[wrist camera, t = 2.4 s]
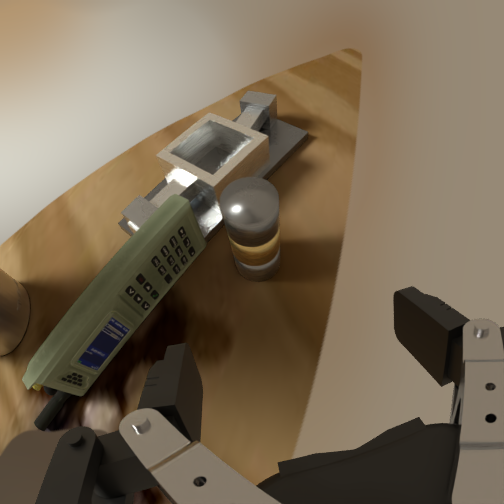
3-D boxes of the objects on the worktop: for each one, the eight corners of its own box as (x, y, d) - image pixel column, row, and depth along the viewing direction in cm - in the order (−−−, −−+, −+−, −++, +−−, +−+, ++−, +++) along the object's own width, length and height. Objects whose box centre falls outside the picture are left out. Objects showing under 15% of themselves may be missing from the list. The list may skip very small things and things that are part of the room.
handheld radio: (213, 247, 31) (57, 441, 22) (188, 232, 32) (39, 416, 24) (196, 203, 26) (9, 435, 17) (168, 188, 27) (-8, 406, 18)
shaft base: (178, 274, 30) (160, 246, 25) (121, 228, 33) (101, 200, 28) (308, 137, 37) (309, 104, 33) (249, 113, 40) (246, 82, 36)
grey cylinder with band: (251, 289, 28) (238, 233, 20) (228, 256, 30) (209, 194, 22) (288, 266, 29) (290, 204, 21) (264, 235, 31) (257, 168, 23)
